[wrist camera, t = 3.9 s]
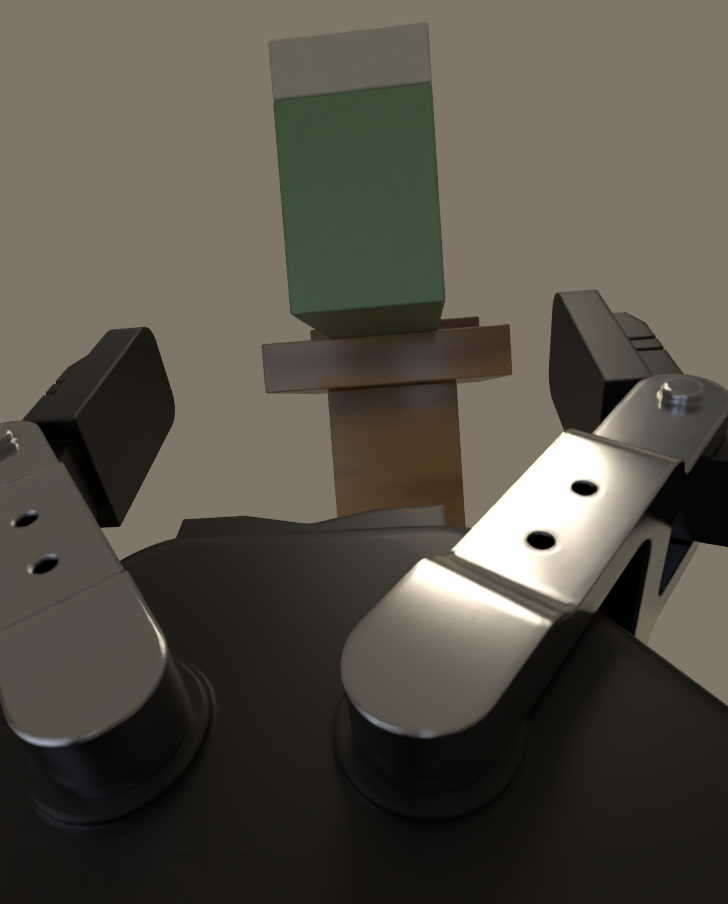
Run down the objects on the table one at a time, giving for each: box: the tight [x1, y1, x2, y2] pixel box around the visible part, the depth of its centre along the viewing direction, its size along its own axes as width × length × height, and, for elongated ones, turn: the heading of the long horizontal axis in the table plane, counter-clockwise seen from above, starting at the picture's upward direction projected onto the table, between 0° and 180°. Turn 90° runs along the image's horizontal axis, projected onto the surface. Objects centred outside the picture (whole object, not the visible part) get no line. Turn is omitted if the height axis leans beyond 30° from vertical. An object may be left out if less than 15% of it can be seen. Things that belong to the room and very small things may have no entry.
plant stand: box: [262, 316, 512, 527], centre depth 35 cm, size 14×10×34 cm
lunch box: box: [269, 21, 445, 339], centre depth 28 cm, size 20×4×8 cm, turn 175°
